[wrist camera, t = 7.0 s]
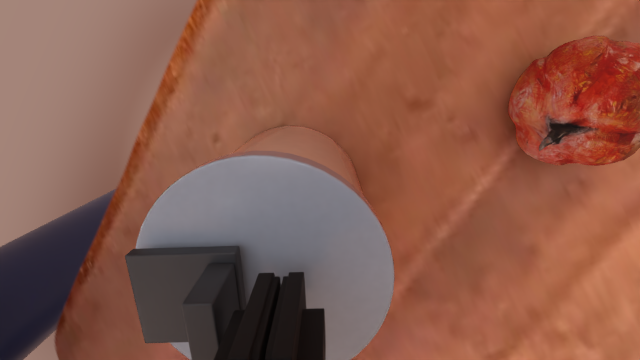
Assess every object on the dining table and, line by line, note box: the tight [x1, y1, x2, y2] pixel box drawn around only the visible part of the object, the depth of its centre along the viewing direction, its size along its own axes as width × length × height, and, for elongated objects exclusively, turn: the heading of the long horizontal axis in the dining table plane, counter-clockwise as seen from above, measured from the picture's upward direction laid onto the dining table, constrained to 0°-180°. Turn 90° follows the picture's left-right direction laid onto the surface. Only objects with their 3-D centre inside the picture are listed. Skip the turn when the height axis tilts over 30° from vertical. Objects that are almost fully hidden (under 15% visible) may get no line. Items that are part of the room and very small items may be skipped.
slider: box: [125, 246, 247, 360], centre depth 12 cm, size 4×4×3 cm
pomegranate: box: [508, 36, 640, 166], centre depth 20 cm, size 7×7×10 cm
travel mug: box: [136, 126, 395, 360], centre depth 19 cm, size 11×11×12 cm
